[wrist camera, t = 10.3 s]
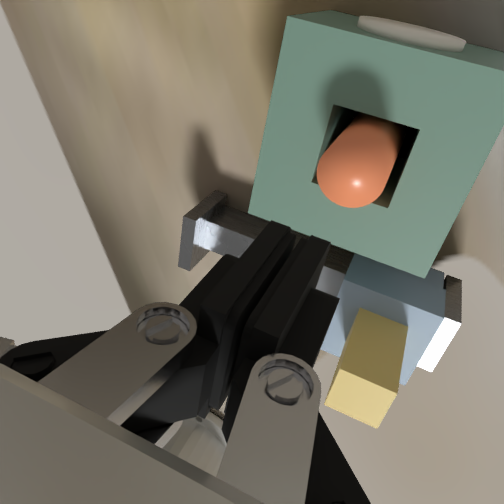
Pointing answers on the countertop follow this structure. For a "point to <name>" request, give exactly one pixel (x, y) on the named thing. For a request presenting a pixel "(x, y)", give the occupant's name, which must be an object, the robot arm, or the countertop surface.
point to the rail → (337, 261)
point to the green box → (387, 107)
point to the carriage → (380, 335)
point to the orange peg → (360, 160)
